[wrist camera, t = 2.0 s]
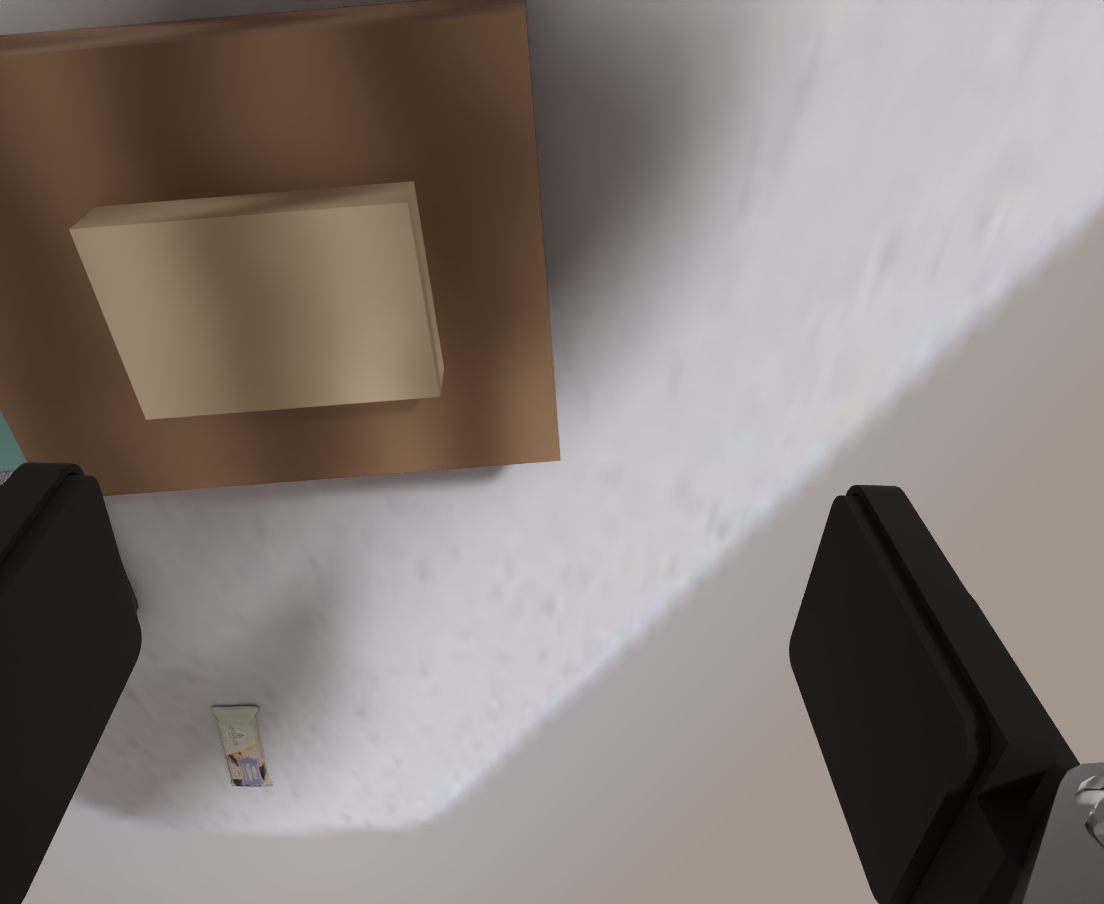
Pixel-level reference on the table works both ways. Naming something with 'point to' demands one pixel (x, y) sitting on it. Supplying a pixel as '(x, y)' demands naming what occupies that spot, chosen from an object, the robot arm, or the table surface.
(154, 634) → the table surface
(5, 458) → the rubber mat
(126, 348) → the coaster tile
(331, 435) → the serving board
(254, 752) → the granola bar
